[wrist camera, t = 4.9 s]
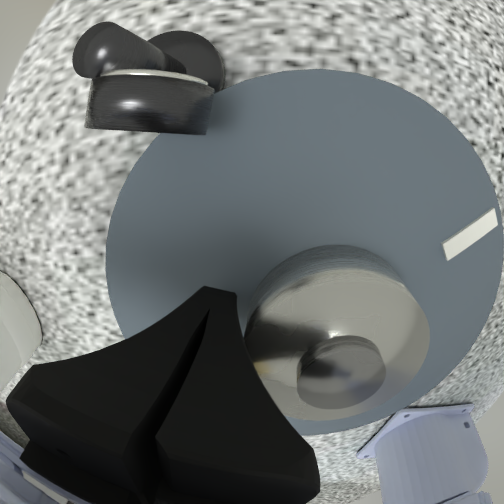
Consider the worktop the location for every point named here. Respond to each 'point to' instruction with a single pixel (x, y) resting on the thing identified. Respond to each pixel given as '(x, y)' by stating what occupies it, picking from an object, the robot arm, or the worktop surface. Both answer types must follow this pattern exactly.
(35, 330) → the bottle
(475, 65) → the worktop surface
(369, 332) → the cover
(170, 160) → the turntable
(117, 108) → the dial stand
